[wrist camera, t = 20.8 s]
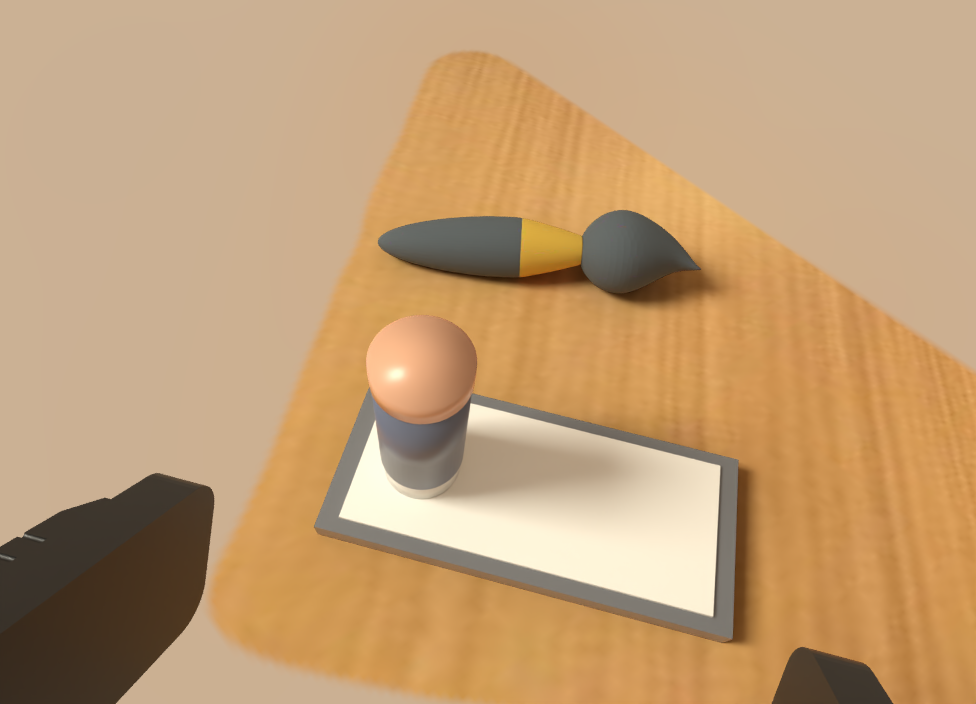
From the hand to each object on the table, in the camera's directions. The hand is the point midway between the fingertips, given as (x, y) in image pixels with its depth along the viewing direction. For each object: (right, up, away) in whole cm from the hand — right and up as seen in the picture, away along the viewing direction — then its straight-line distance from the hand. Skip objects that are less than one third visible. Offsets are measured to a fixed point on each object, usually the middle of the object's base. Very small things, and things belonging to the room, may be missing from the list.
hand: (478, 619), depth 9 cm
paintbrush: (+3, +8, +33) cm, 34 cm away
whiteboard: (+3, -4, +24) cm, 25 cm away
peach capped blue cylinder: (-3, -2, +24) cm, 24 cm away
